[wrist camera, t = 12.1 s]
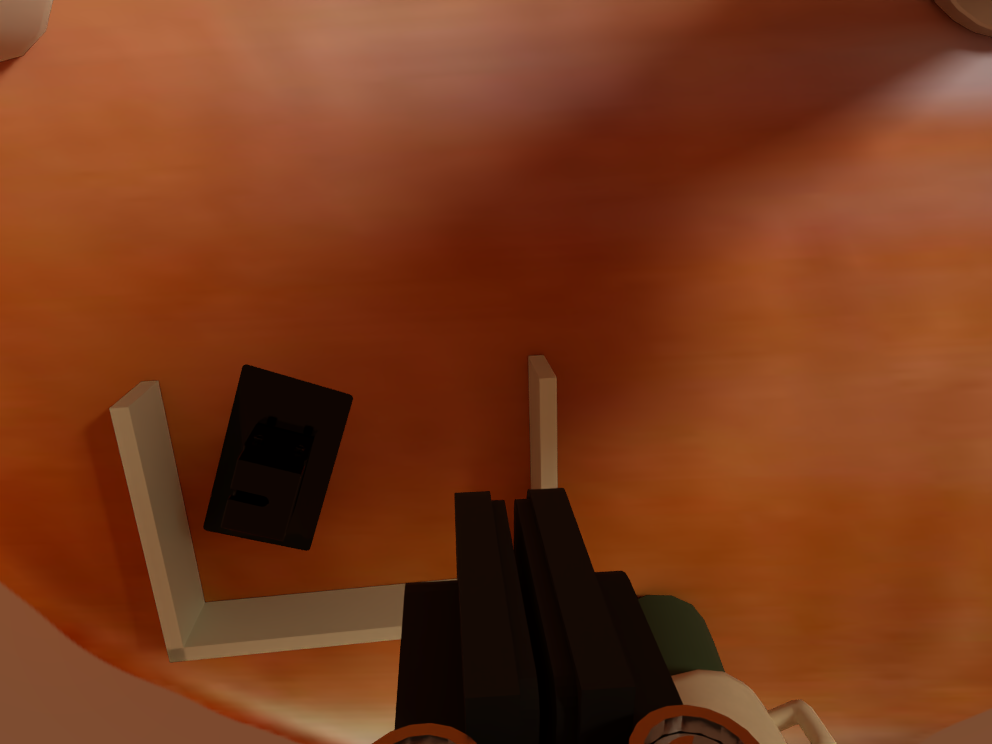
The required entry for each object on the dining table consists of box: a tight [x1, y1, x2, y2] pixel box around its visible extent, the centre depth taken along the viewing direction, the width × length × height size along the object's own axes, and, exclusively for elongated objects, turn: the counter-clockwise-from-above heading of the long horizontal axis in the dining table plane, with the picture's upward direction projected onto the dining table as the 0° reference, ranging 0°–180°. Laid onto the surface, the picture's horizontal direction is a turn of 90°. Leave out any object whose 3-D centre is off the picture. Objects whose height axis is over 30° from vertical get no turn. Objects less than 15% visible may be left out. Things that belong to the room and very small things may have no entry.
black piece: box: [203, 365, 353, 551], centre depth 33 cm, size 12×7×5 cm, turn 161°
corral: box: [109, 355, 558, 662], centre depth 34 cm, size 14×20×4 cm
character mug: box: [638, 595, 837, 744], centre depth 34 cm, size 11×7×13 cm, turn 114°
